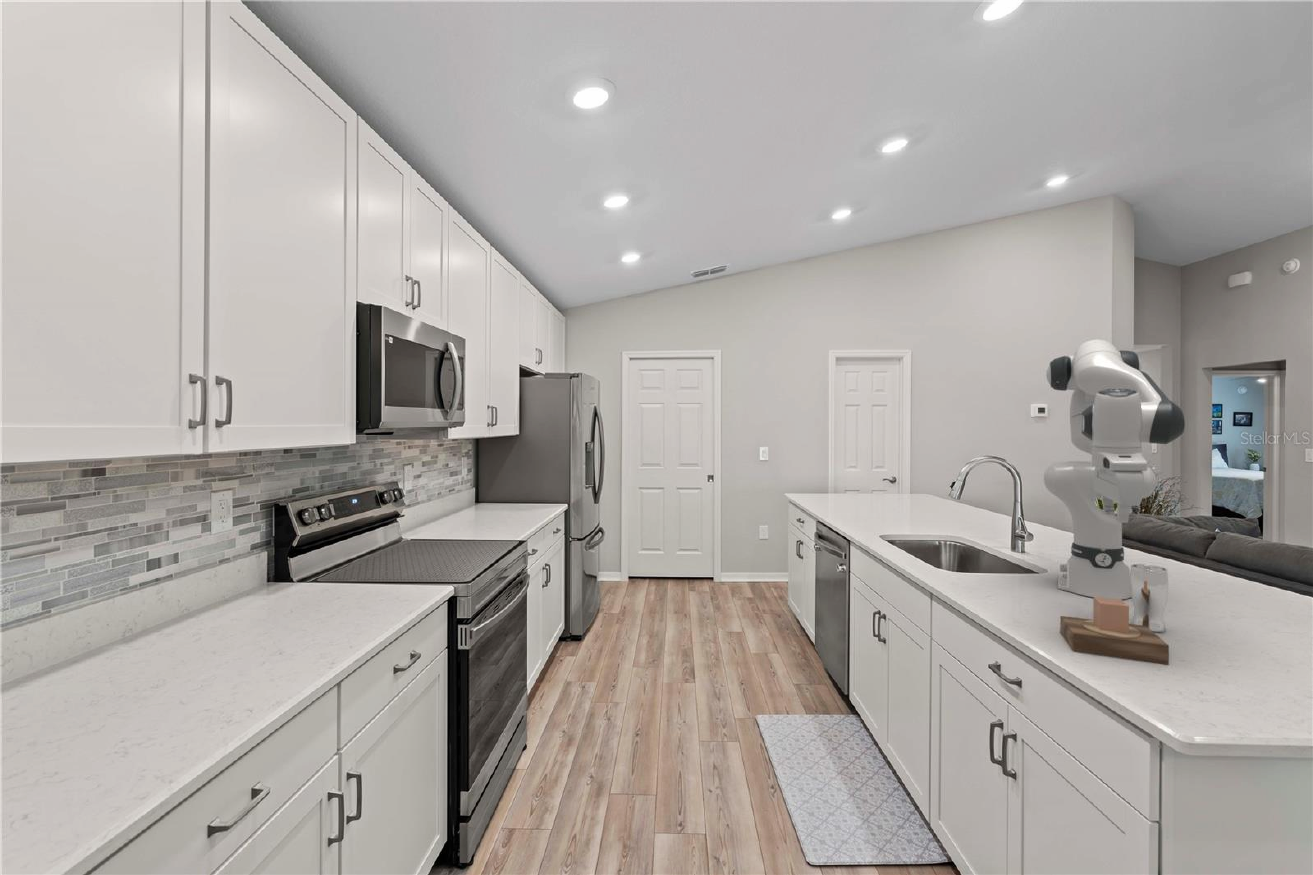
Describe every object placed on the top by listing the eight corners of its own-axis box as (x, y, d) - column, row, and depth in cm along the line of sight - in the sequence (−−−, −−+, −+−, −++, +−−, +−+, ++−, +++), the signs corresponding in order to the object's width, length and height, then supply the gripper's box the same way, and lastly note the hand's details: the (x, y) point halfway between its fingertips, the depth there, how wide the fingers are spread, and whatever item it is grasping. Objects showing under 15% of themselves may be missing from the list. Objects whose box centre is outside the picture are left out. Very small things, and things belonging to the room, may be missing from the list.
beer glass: (1175, 634, 127) (1176, 571, 127) (1141, 632, 128) (1142, 570, 128) (1154, 623, 134) (1155, 564, 133) (1122, 622, 135) (1123, 563, 135)
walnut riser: (1060, 632, 129) (1060, 614, 129) (1146, 643, 122) (1146, 624, 122) (1073, 651, 118) (1073, 631, 118) (1168, 664, 111) (1168, 643, 111)
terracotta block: (1093, 622, 123) (1093, 596, 123) (1120, 625, 121) (1121, 599, 121) (1100, 629, 119) (1100, 603, 119) (1128, 633, 117) (1129, 606, 117)
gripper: (1086, 454, 134) (1085, 508, 135) (1113, 463, 116) (1112, 526, 117) (1118, 454, 132) (1117, 510, 132) (1151, 464, 113) (1149, 528, 114)
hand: (1115, 518), depth 124 cm, fingers open, 8 cm apart
